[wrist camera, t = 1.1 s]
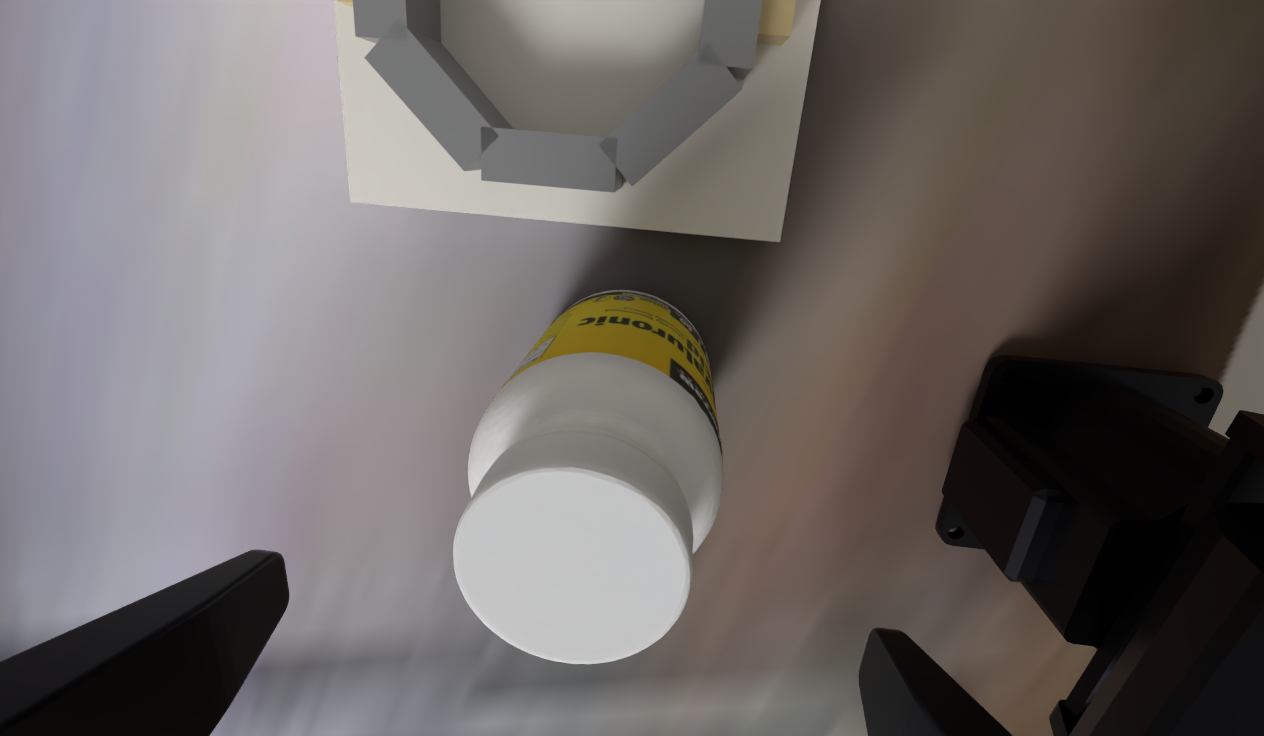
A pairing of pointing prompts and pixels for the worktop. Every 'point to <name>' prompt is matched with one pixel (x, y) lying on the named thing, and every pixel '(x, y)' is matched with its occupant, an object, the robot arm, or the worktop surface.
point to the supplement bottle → (593, 483)
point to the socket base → (578, 109)
